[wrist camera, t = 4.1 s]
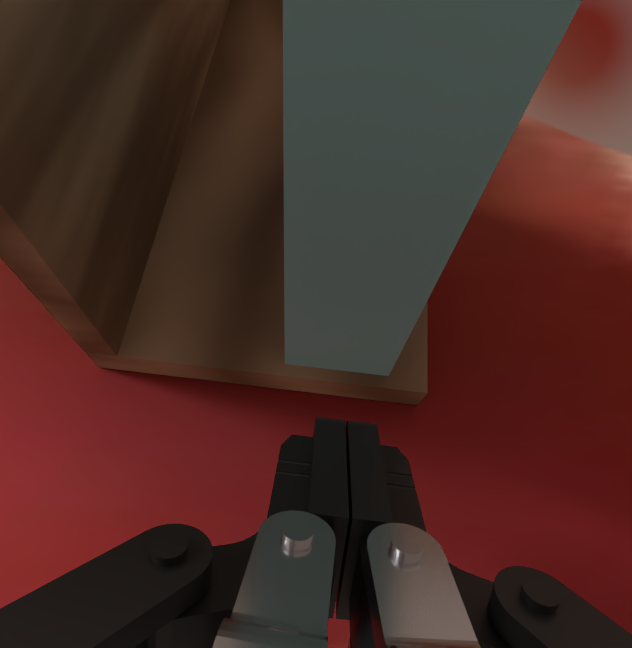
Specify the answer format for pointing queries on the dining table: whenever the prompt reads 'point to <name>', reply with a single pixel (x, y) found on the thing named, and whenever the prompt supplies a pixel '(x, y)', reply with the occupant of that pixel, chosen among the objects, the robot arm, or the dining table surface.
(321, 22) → the rectangular block
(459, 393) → the dining table surface
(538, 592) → the robot arm
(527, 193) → the dining table surface
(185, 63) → the open wooden box
